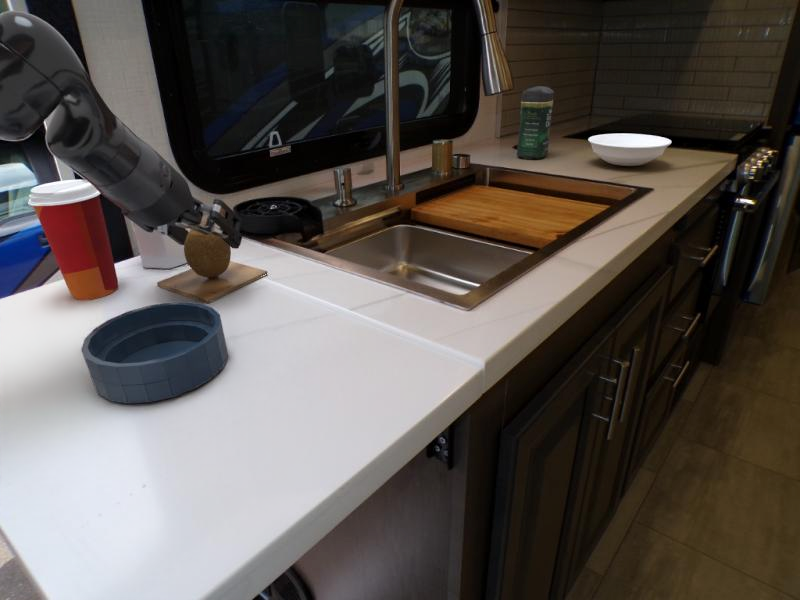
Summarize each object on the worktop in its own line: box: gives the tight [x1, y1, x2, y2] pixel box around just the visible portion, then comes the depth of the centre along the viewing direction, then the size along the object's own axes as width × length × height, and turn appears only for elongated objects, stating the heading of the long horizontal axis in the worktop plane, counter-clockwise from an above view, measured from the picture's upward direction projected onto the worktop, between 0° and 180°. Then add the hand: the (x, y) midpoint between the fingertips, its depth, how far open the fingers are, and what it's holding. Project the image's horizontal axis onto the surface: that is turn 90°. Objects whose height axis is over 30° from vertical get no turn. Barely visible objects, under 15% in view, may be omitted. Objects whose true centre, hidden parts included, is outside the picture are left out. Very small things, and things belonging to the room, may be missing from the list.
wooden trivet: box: [156, 260, 269, 304], centre depth 76 cm, size 11×11×1 cm
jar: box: [130, 220, 192, 270], centre depth 82 cm, size 9×8×12 cm
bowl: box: [587, 133, 672, 167], centre depth 135 cm, size 20×20×6 cm
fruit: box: [184, 223, 232, 278], centre depth 74 cm, size 6×6×8 cm
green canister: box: [516, 85, 555, 160], centre depth 145 cm, size 10×8×19 cm
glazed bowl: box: [80, 301, 229, 404], centre depth 55 cm, size 13×13×4 cm
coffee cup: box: [27, 179, 119, 301], centre depth 71 cm, size 8×8×15 cm
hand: (211, 240), depth 75 cm, fingers open, 8 cm apart
